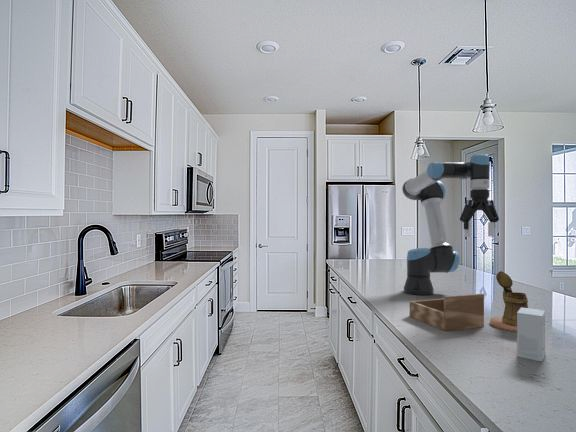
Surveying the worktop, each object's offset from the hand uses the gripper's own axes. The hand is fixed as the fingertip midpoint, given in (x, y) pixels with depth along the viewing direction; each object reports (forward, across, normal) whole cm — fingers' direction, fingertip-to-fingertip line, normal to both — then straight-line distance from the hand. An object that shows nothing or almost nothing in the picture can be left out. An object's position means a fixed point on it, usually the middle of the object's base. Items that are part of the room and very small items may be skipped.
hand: (479, 236), depth 163 cm
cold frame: (+32, -30, -12) cm, 45 cm away
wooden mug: (+30, -10, -25) cm, 41 cm away
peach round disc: (+32, -11, -25) cm, 42 cm away
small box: (+32, -31, -48) cm, 65 cm away
